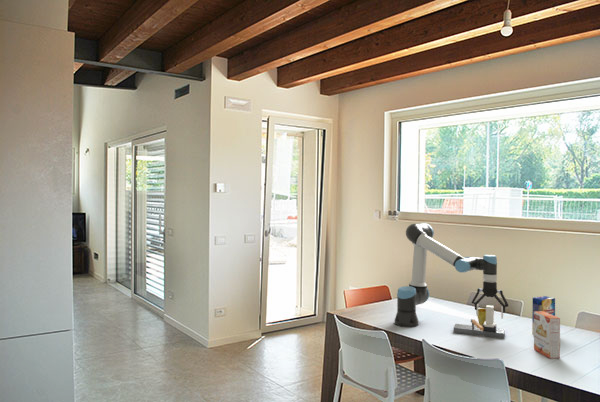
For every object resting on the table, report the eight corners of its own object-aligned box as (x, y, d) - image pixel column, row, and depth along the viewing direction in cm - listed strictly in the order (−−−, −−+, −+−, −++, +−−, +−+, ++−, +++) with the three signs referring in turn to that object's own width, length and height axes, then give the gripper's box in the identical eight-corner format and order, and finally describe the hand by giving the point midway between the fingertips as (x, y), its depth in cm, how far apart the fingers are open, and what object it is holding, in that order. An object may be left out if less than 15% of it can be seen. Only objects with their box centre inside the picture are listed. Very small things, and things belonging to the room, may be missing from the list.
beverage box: (555, 335, 278) (555, 298, 278) (542, 337, 273) (542, 300, 273) (544, 332, 284) (544, 296, 284) (532, 334, 279) (532, 297, 279)
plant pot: (495, 328, 292) (495, 312, 292) (477, 327, 294) (477, 311, 294) (491, 323, 302) (492, 308, 302) (475, 323, 304) (475, 308, 304)
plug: (483, 331, 275) (483, 307, 275) (484, 327, 282) (484, 304, 282) (494, 332, 272) (494, 308, 272) (495, 329, 280) (495, 305, 280)
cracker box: (533, 349, 251) (533, 311, 251) (543, 349, 252) (544, 310, 251) (549, 358, 237) (549, 317, 237) (560, 358, 238) (560, 317, 237)
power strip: (453, 332, 283) (453, 322, 283) (455, 328, 292) (455, 318, 292) (503, 338, 271) (504, 328, 271) (504, 334, 280) (504, 324, 280)
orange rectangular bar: (470, 328, 280) (470, 319, 280) (474, 328, 280) (474, 319, 280) (479, 337, 262) (479, 327, 262) (484, 337, 262) (484, 327, 262)
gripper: (513, 281, 276) (512, 317, 276) (468, 278, 287) (468, 313, 287) (512, 283, 269) (512, 320, 270) (467, 280, 280) (466, 315, 280)
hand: (489, 316), depth 278 cm, fingers open, 13 cm apart
